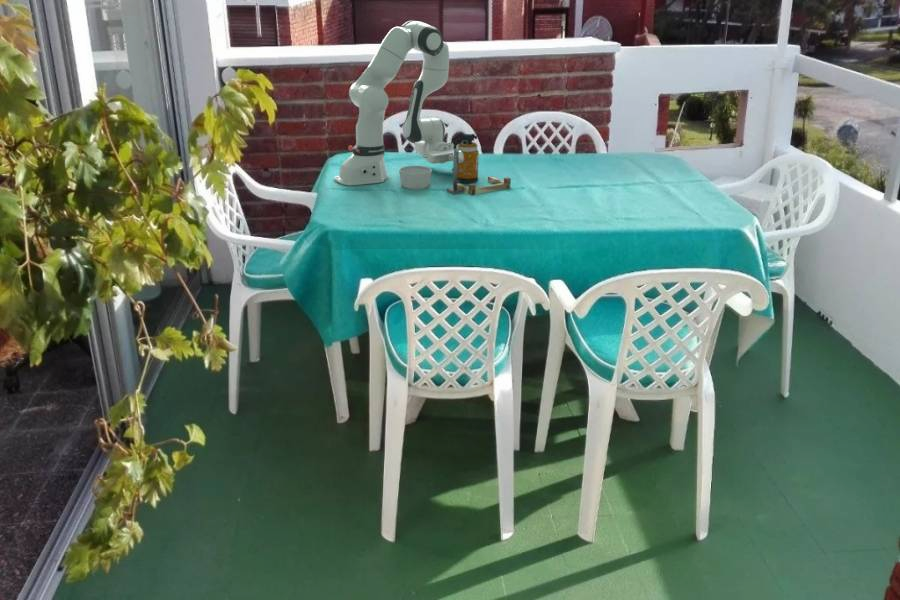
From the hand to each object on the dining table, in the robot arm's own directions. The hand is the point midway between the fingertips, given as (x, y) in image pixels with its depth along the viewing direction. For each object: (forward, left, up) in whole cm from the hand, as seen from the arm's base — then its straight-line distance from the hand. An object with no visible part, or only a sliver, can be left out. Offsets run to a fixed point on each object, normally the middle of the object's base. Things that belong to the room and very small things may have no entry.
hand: (459, 159), depth 349 cm
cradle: (0, -16, -8) cm, 18 cm away
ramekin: (-21, +1, -9) cm, 23 cm away
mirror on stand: (-13, -15, -9) cm, 21 cm away
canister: (0, -4, -9) cm, 10 cm away
